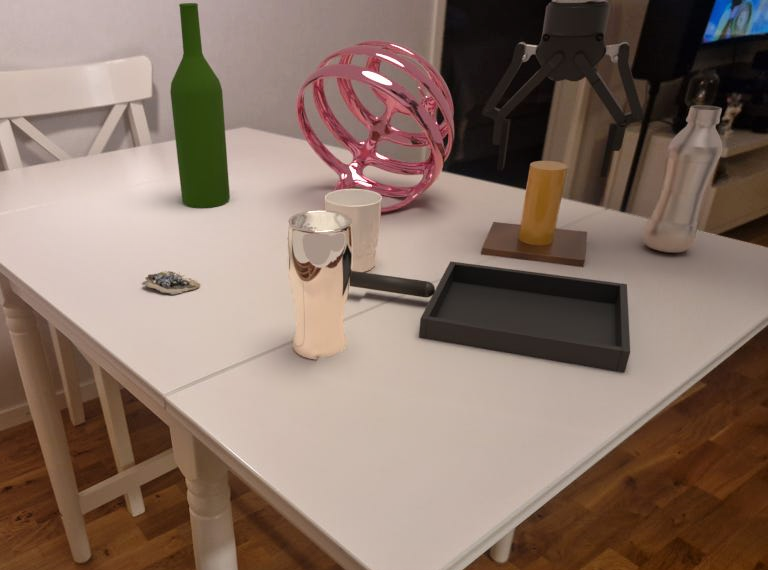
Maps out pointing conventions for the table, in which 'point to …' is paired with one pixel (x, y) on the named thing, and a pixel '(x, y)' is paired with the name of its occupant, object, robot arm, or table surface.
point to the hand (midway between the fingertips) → (550, 171)
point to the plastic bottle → (685, 181)
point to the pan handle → (392, 284)
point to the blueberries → (170, 282)
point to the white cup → (359, 222)
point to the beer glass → (319, 279)
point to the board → (536, 246)
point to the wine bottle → (198, 121)
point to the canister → (542, 202)
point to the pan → (531, 315)
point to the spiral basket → (380, 126)
